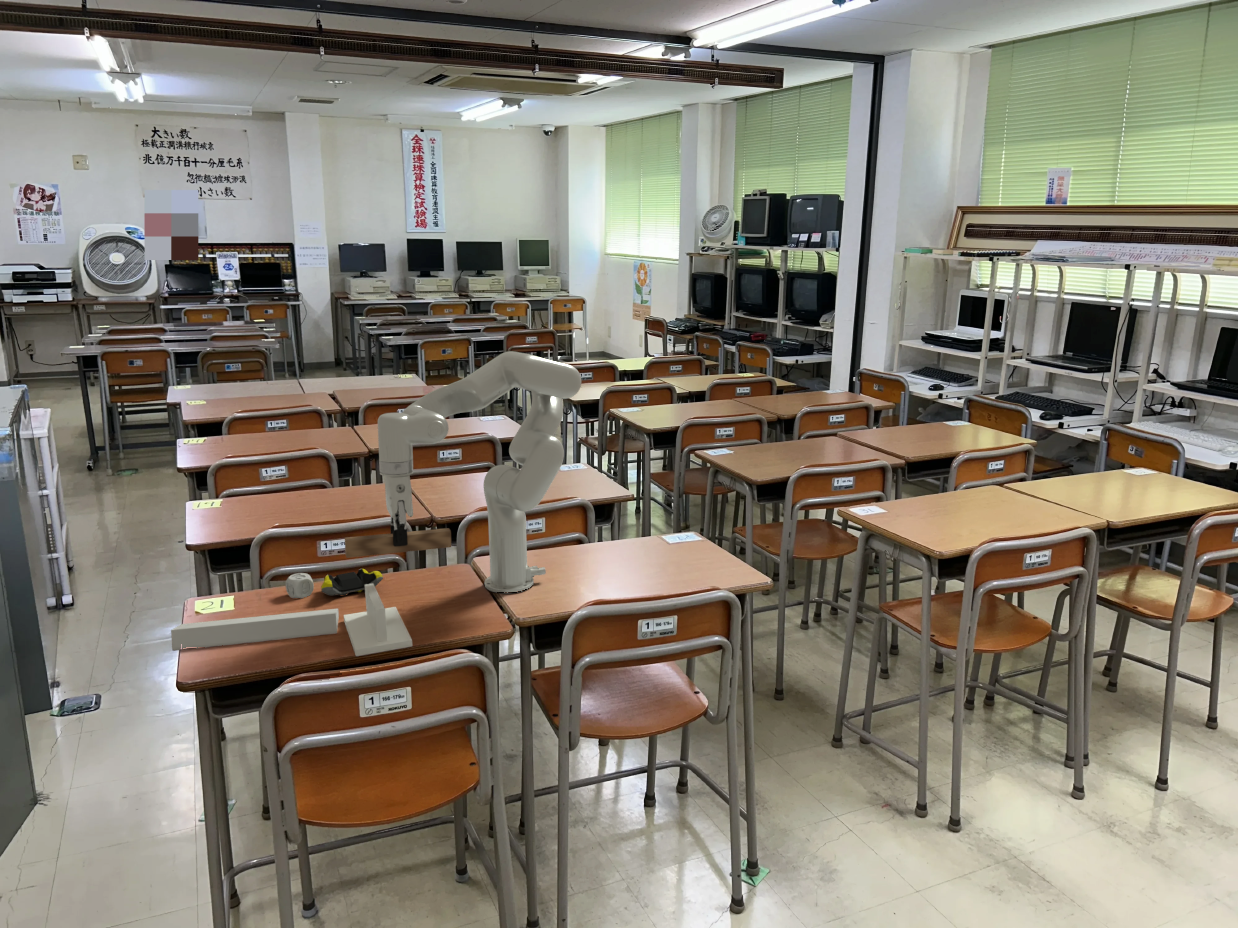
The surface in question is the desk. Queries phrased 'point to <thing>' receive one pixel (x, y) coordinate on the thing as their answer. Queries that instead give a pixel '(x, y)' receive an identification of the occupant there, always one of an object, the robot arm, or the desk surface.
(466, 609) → the desk surface
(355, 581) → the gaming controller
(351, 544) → the walnut batten
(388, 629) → the stand
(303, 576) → the die
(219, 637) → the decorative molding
